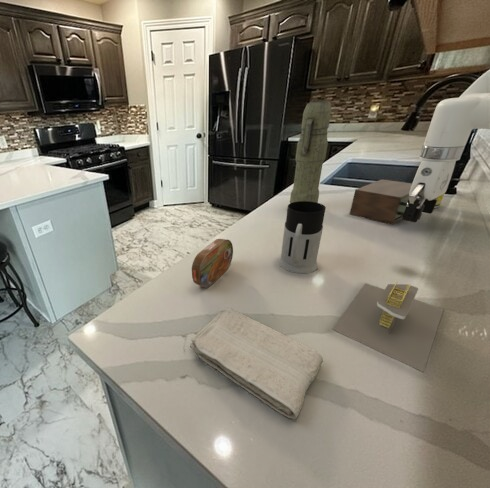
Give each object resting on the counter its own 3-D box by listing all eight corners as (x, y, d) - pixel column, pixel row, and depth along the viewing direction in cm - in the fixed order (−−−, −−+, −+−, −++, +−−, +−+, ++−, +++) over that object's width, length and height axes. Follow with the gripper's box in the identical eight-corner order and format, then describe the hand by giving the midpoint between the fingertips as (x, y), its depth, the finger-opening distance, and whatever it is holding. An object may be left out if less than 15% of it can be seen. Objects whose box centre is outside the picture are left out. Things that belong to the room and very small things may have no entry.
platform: (332, 329, 46) (339, 300, 43) (365, 283, 56) (373, 256, 53) (423, 372, 37) (441, 339, 34) (443, 308, 47) (458, 279, 44)
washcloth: (224, 313, 52) (224, 301, 50) (324, 363, 40) (328, 349, 39) (186, 352, 45) (185, 339, 43) (294, 426, 33) (298, 412, 32)
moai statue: (320, 205, 96) (340, 98, 80) (310, 216, 89) (330, 100, 73) (295, 202, 102) (308, 101, 86) (284, 212, 94) (296, 103, 78)
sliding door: (426, 218, 76) (434, 198, 74) (415, 224, 74) (423, 204, 71) (402, 213, 81) (408, 194, 78) (391, 219, 78) (397, 199, 76)
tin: (201, 294, 58) (200, 262, 54) (190, 289, 60) (188, 258, 56) (234, 263, 67) (234, 234, 64) (223, 260, 69) (223, 232, 66)
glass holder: (319, 258, 66) (330, 202, 59) (311, 290, 55) (324, 226, 49) (282, 252, 70) (289, 198, 63) (269, 280, 60) (275, 220, 53)
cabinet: (417, 211, 84) (426, 185, 80) (391, 224, 78) (400, 197, 74) (374, 202, 94) (381, 179, 90) (349, 214, 87) (355, 189, 83)
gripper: (445, 160, 59) (419, 229, 67) (474, 148, 66) (447, 212, 74) (405, 157, 65) (385, 220, 73) (436, 146, 72) (414, 205, 80)
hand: (417, 216), depth 74 cm, fingers open, 8 cm apart
